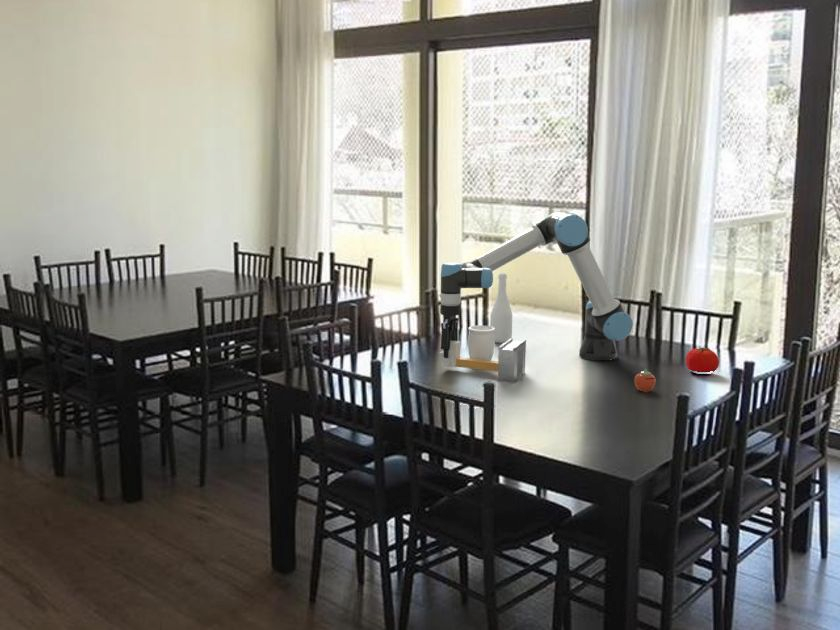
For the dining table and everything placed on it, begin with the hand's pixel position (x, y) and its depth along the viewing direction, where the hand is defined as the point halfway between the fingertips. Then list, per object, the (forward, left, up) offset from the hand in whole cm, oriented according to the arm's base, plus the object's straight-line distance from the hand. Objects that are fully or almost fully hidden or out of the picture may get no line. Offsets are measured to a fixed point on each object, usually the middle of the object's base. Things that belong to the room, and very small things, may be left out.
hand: (449, 364), depth 332 cm
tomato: (-95, +7, -3) cm, 96 cm away
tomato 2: (-66, +30, -3) cm, 73 cm away
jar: (-13, -7, -3) cm, 15 cm away
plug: (-8, +4, 0) cm, 8 cm away
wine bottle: (-28, -51, -3) cm, 58 cm away
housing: (-22, +10, -2) cm, 25 cm away
